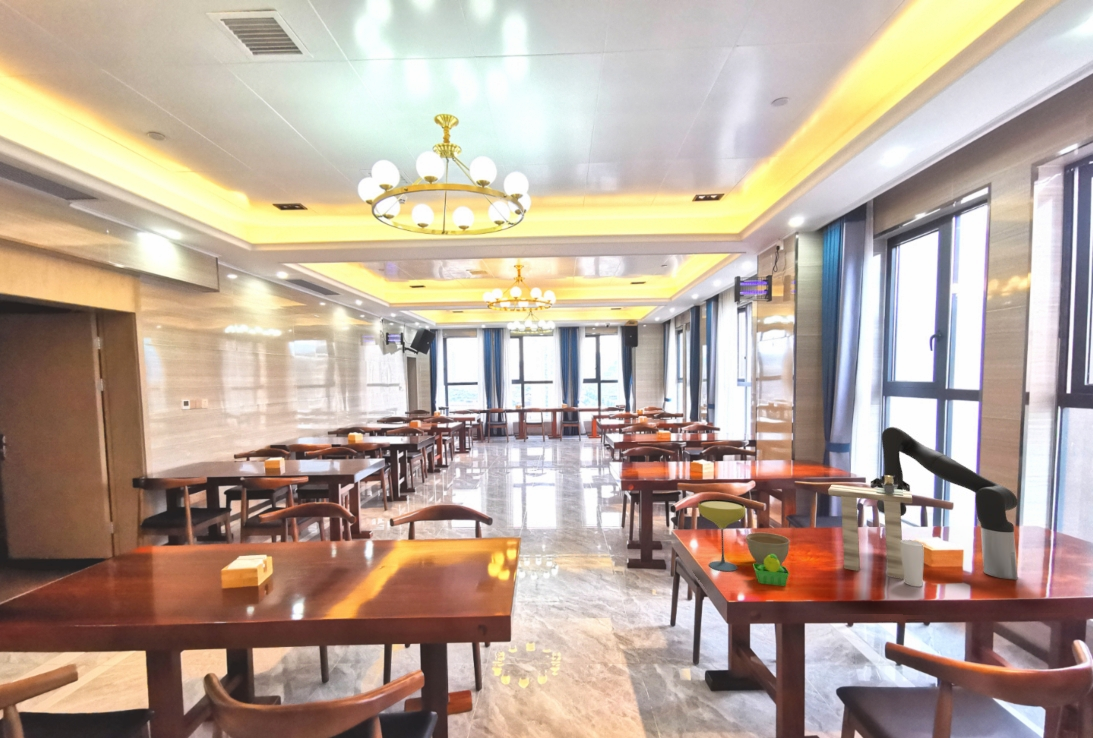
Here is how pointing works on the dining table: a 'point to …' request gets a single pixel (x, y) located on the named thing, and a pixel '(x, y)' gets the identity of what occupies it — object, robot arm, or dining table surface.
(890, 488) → the crank handle
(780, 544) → the planter bowl
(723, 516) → the cocktail glass
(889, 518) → the shelf
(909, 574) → the drinking glass
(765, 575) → the fruit basket
